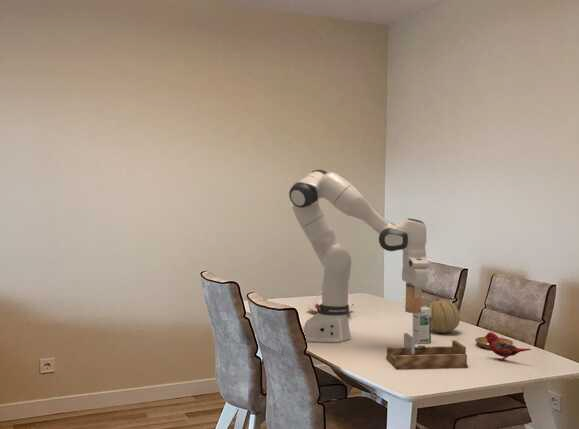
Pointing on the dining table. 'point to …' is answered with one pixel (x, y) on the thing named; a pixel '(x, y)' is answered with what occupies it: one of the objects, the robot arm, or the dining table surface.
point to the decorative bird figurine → (502, 347)
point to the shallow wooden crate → (429, 357)
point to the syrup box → (422, 326)
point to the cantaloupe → (444, 316)
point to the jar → (412, 300)
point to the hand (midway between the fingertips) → (413, 295)
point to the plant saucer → (483, 342)
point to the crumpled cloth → (319, 301)
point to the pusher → (410, 345)
